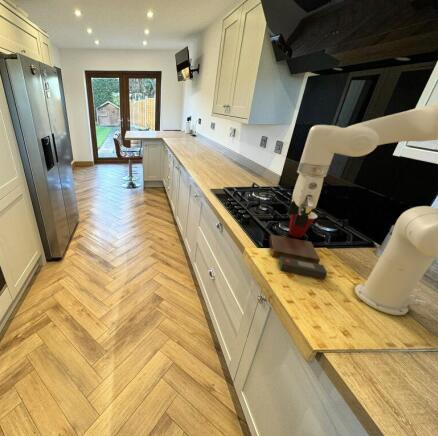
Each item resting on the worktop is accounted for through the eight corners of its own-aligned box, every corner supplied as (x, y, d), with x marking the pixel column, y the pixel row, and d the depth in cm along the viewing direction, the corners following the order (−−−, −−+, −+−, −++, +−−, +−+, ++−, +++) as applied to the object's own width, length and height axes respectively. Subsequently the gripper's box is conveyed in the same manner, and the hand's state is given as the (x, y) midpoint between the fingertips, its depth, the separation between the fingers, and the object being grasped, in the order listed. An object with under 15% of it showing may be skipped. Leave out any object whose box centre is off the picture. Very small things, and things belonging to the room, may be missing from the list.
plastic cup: (312, 242, 106) (321, 218, 101) (285, 237, 109) (293, 214, 104) (305, 231, 115) (314, 209, 110) (281, 227, 118) (288, 205, 113)
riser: (308, 247, 102) (311, 241, 101) (317, 266, 90) (320, 259, 89) (268, 240, 107) (270, 234, 105) (272, 256, 95) (274, 250, 93)
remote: (320, 271, 87) (323, 264, 86) (324, 279, 83) (327, 272, 81) (278, 262, 91) (280, 256, 90) (280, 270, 87) (282, 263, 86)
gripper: (337, 177, 62) (316, 233, 70) (318, 164, 77) (302, 211, 85) (305, 174, 65) (287, 229, 72) (292, 162, 79) (279, 208, 87)
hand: (295, 219), depth 78 cm, fingers open, 9 cm apart
